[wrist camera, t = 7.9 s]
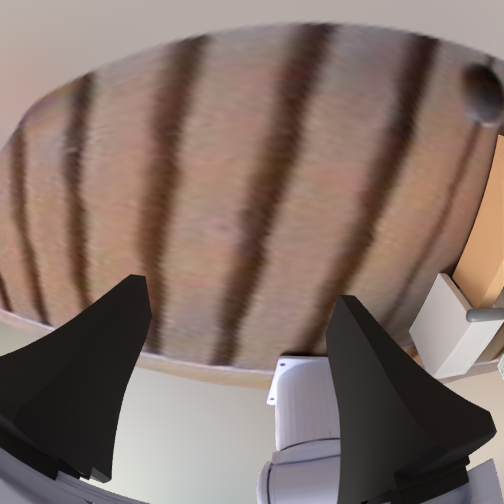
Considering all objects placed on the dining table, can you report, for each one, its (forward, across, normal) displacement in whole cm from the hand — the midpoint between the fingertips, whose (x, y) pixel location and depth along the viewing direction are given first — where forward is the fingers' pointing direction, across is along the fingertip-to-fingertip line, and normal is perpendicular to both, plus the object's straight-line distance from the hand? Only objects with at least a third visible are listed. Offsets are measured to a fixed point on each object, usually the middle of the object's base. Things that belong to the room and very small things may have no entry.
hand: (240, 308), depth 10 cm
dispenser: (+9, -19, +7) cm, 22 cm away
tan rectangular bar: (+9, -19, -3) cm, 21 cm away
